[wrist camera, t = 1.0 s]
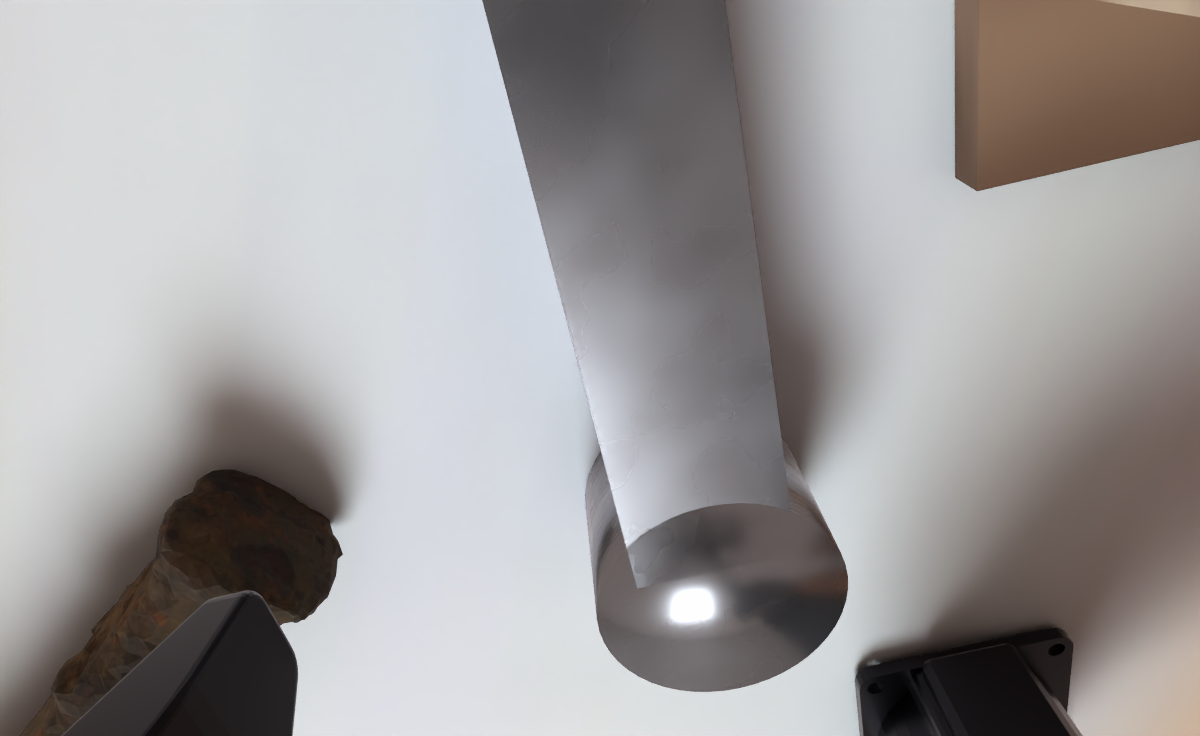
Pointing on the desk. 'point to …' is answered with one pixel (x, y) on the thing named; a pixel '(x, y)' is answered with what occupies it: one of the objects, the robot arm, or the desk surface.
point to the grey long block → (668, 339)
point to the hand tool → (201, 581)
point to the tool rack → (1071, 84)
